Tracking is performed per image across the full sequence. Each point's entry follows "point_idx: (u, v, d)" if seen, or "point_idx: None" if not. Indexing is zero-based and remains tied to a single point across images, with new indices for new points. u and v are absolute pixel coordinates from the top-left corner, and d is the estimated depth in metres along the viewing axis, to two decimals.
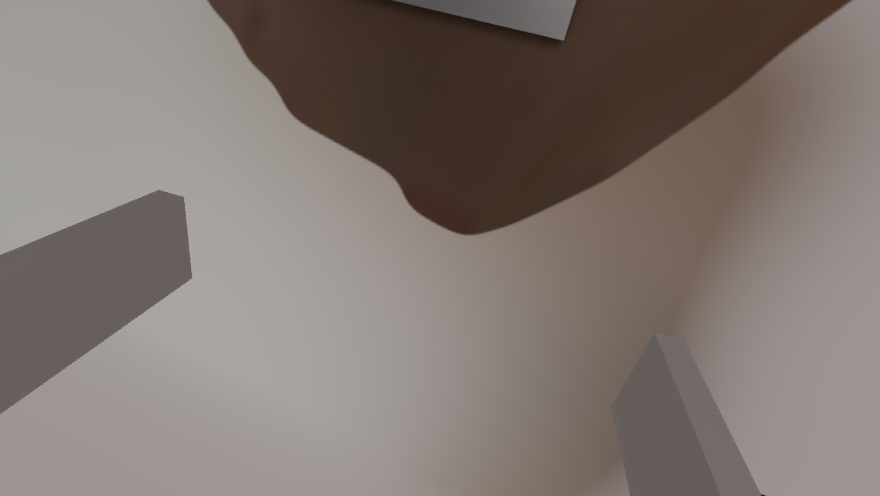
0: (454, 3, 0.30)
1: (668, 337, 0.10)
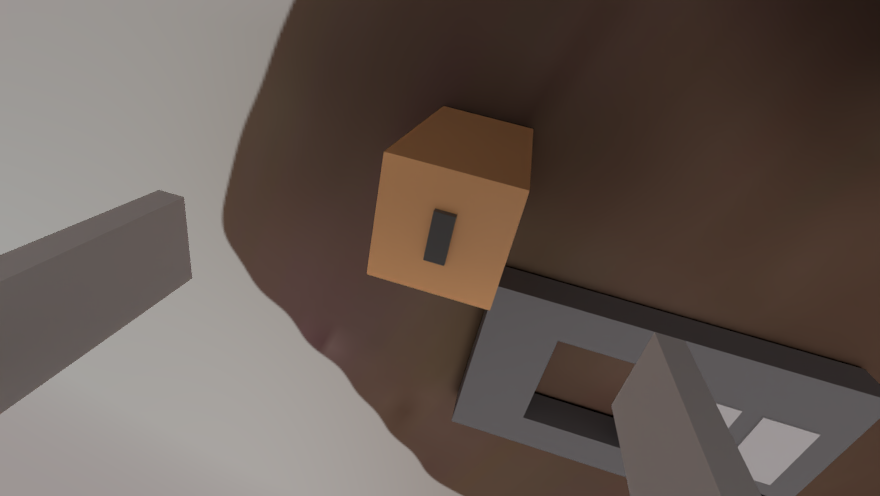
0: None
1: (667, 337, 0.10)
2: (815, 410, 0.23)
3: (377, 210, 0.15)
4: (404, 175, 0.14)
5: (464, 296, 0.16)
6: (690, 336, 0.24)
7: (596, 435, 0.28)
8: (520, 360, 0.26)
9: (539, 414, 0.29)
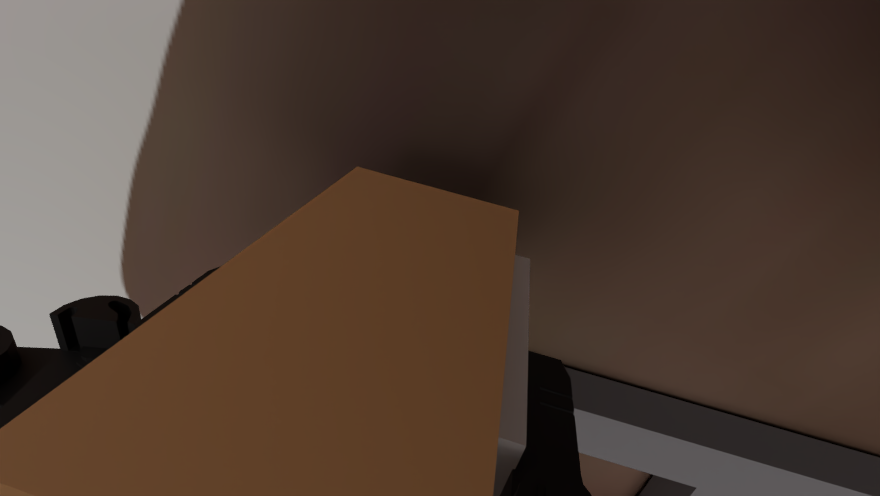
0: None
1: (516, 255, 0.12)
2: None
3: None
4: None
5: None
6: (715, 439, 0.18)
7: None
8: None
9: None
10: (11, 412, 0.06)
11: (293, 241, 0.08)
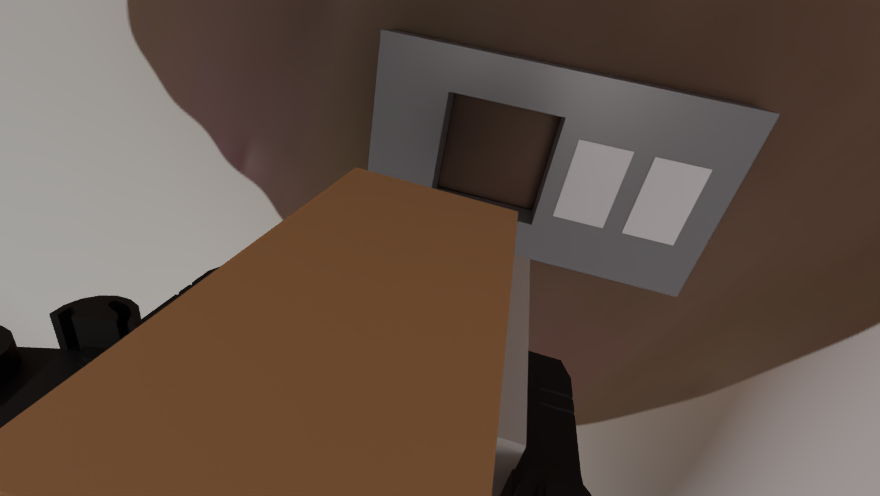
0: (556, 256, 0.28)
1: (515, 255, 0.12)
2: (704, 139, 0.23)
3: None
4: None
5: None
6: (576, 70, 0.23)
7: None
8: (417, 124, 0.26)
9: None
10: (11, 412, 0.06)
11: (291, 242, 0.08)
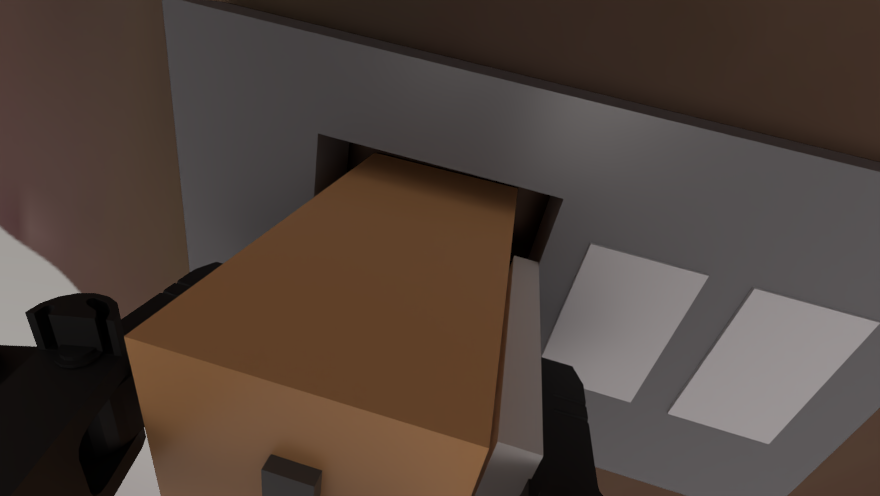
0: None
1: (524, 259, 0.12)
2: (871, 262, 0.10)
3: (152, 442, 0.07)
4: (185, 388, 0.06)
5: None
6: (589, 97, 0.10)
7: None
8: (266, 194, 0.13)
9: None
10: None
11: (329, 208, 0.10)
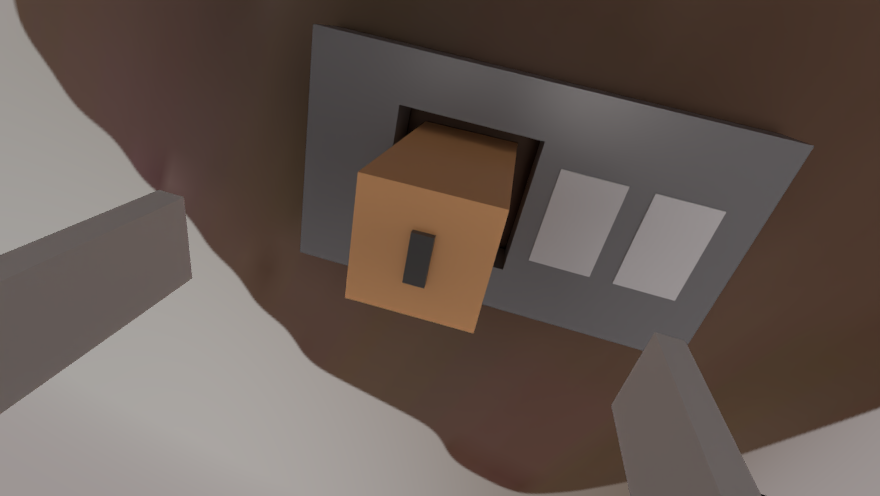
0: (532, 307, 0.23)
1: (668, 337, 0.10)
2: (716, 174, 0.18)
3: (353, 232, 0.14)
4: (379, 196, 0.14)
5: (446, 319, 0.15)
6: (558, 82, 0.19)
7: None
8: (362, 144, 0.21)
9: None
10: None
11: (414, 142, 0.18)
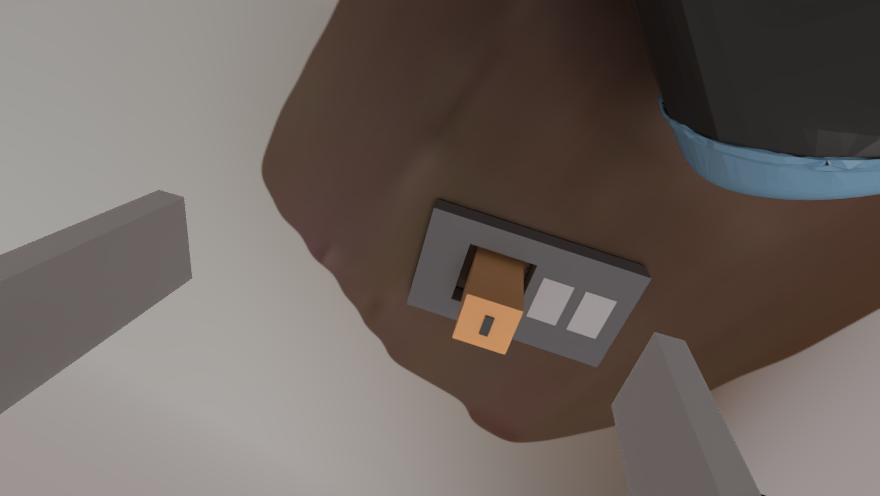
0: (526, 338, 0.46)
1: (668, 337, 0.10)
2: (612, 286, 0.41)
3: (461, 313, 0.37)
4: (474, 302, 0.36)
5: (494, 348, 0.38)
6: (544, 241, 0.41)
7: None
8: (449, 258, 0.43)
9: None
10: None
11: (479, 267, 0.40)
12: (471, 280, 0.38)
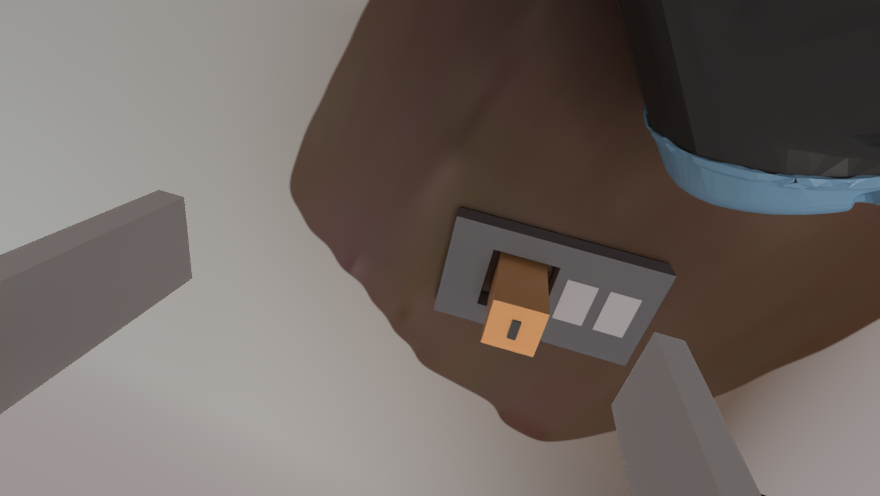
0: (553, 339, 0.46)
1: (668, 337, 0.10)
2: (637, 285, 0.41)
3: (488, 319, 0.38)
4: (501, 307, 0.37)
5: (522, 351, 0.39)
6: (567, 243, 0.42)
7: None
8: (473, 264, 0.44)
9: (487, 302, 0.47)
10: None
11: (503, 272, 0.41)
12: (497, 286, 0.39)
